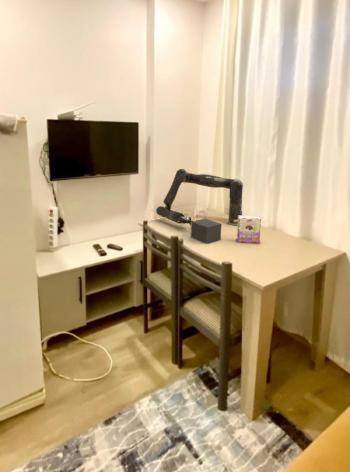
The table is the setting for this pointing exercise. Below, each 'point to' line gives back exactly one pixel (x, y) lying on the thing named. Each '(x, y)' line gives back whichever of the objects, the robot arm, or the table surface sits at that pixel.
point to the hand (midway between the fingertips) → (192, 222)
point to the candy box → (248, 229)
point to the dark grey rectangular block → (206, 230)
